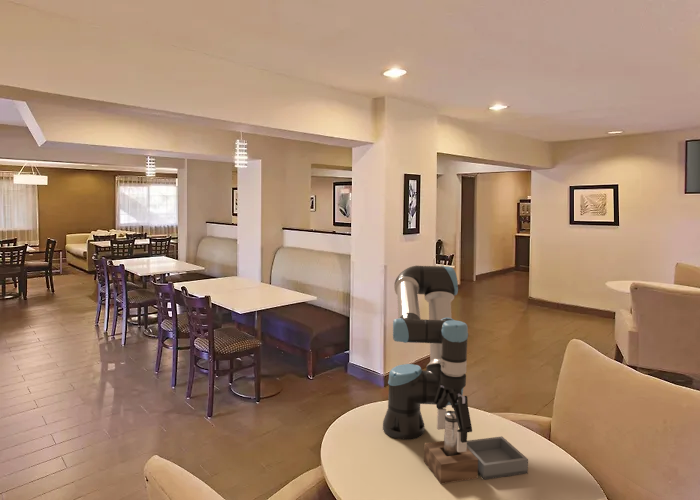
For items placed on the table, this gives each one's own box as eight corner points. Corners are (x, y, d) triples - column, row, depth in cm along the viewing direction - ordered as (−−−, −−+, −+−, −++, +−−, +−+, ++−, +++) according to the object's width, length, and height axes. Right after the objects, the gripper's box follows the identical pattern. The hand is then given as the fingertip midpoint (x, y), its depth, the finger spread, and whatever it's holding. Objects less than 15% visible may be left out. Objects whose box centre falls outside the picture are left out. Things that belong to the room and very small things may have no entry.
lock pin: (440, 466, 138) (442, 411, 136) (452, 465, 139) (454, 410, 137) (446, 474, 134) (448, 417, 132) (459, 472, 135) (461, 416, 133)
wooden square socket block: (423, 461, 141) (424, 443, 140) (458, 456, 144) (458, 439, 143) (440, 483, 129) (441, 464, 129) (477, 478, 132) (478, 459, 132)
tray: (460, 454, 145) (461, 441, 145) (501, 449, 149) (502, 436, 148) (483, 479, 132) (484, 465, 131) (527, 473, 135) (528, 459, 135)
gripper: (425, 359, 145) (423, 421, 147) (462, 389, 121) (459, 463, 123) (446, 358, 147) (444, 419, 149) (486, 387, 123) (483, 460, 125)
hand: (450, 439), depth 136 cm, fingers open, 13 cm apart
